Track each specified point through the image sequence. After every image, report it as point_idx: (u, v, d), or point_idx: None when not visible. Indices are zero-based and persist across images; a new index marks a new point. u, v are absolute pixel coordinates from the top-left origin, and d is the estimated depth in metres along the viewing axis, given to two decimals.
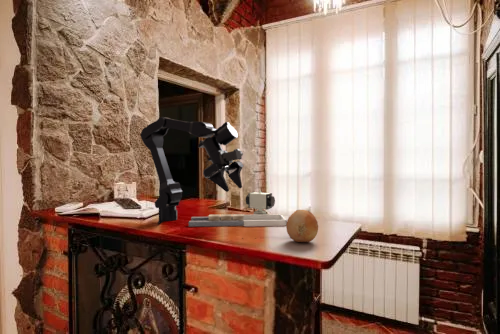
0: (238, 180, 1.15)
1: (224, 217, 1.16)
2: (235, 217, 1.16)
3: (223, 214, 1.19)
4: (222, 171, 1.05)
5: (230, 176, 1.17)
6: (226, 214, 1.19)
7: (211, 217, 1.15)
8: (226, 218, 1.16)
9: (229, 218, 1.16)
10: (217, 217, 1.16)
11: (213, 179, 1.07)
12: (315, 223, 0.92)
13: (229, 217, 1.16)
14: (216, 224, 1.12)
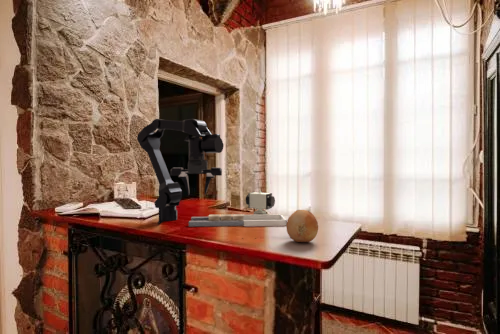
0: (205, 186, 1.16)
1: (224, 217, 1.16)
2: (235, 217, 1.16)
3: (223, 214, 1.19)
4: (183, 177, 1.13)
5: None
6: (226, 214, 1.19)
7: (211, 217, 1.15)
8: (226, 218, 1.16)
9: (229, 218, 1.16)
10: (217, 217, 1.16)
11: None
12: (315, 223, 0.92)
13: (229, 217, 1.16)
14: (216, 224, 1.12)
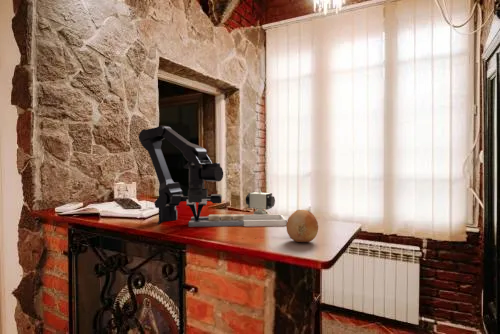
0: (197, 214, 1.16)
1: (224, 217, 1.16)
2: (235, 217, 1.16)
3: (223, 214, 1.19)
4: (191, 205, 1.14)
5: None
6: (226, 214, 1.19)
7: (211, 217, 1.15)
8: (226, 218, 1.16)
9: (229, 218, 1.16)
10: (217, 217, 1.16)
11: None
12: (315, 223, 0.92)
13: (229, 217, 1.16)
14: (216, 224, 1.12)
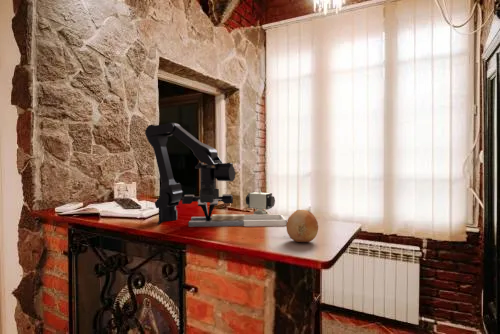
0: (208, 214, 1.16)
1: (226, 217, 1.16)
2: (236, 217, 1.16)
3: (225, 214, 1.19)
4: (202, 205, 1.14)
5: None
6: (228, 214, 1.19)
7: (214, 217, 1.15)
8: (228, 218, 1.16)
9: (231, 218, 1.16)
10: (220, 217, 1.16)
11: None
12: (315, 223, 0.92)
13: (231, 217, 1.16)
14: (216, 224, 1.12)
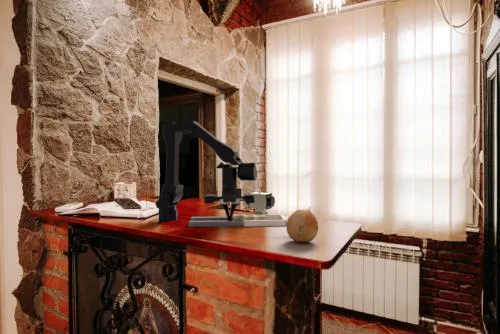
0: (230, 213, 1.17)
1: (247, 218, 1.16)
2: (257, 218, 1.17)
3: (246, 215, 1.20)
4: (224, 205, 1.15)
5: None
6: (249, 215, 1.20)
7: (236, 217, 1.16)
8: (250, 219, 1.16)
9: (252, 219, 1.17)
10: (242, 217, 1.16)
11: None
12: (315, 223, 0.92)
13: (252, 218, 1.17)
14: (216, 224, 1.12)
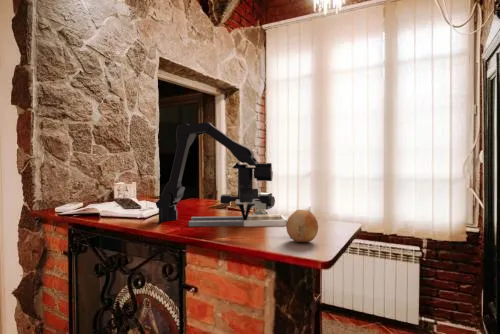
0: (245, 214, 1.18)
1: (262, 218, 1.17)
2: (272, 217, 1.17)
3: (260, 215, 1.20)
4: (240, 205, 1.15)
5: (246, 205, 1.20)
6: (263, 215, 1.20)
7: (251, 217, 1.17)
8: (265, 219, 1.17)
9: (267, 218, 1.17)
10: (257, 217, 1.17)
11: None
12: (315, 223, 0.92)
13: (267, 218, 1.17)
14: (216, 224, 1.12)
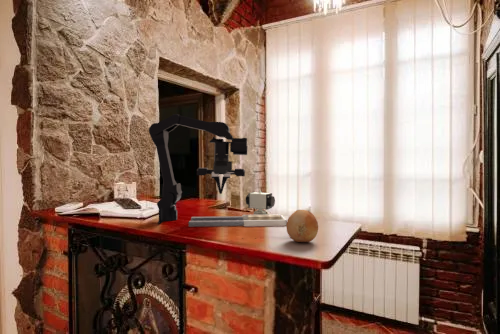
0: (221, 186, 1.22)
1: (262, 218, 1.17)
2: (272, 217, 1.17)
3: (260, 215, 1.20)
4: (215, 177, 1.20)
5: None
6: (263, 215, 1.20)
7: (251, 217, 1.17)
8: (265, 219, 1.17)
9: (267, 218, 1.17)
10: (257, 217, 1.17)
11: None
12: (315, 223, 0.92)
13: (267, 218, 1.17)
14: (216, 224, 1.12)
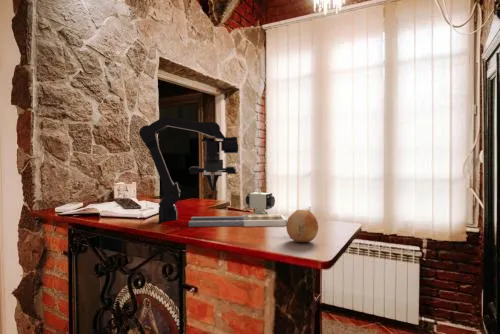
0: (213, 184, 1.26)
1: (262, 218, 1.17)
2: (272, 217, 1.17)
3: (260, 215, 1.20)
4: (207, 175, 1.24)
5: None
6: (263, 215, 1.20)
7: (251, 217, 1.17)
8: (265, 219, 1.17)
9: (267, 218, 1.17)
10: (257, 217, 1.17)
11: None
12: (315, 223, 0.92)
13: (267, 218, 1.17)
14: (216, 224, 1.12)
